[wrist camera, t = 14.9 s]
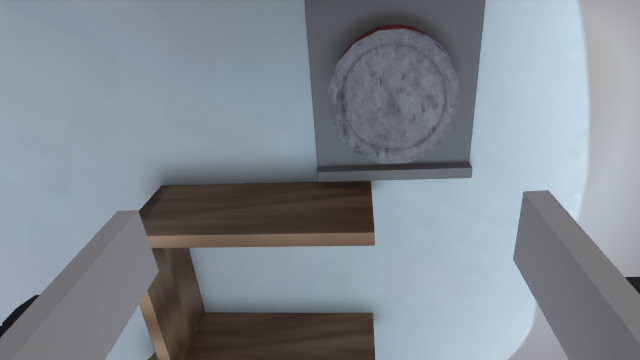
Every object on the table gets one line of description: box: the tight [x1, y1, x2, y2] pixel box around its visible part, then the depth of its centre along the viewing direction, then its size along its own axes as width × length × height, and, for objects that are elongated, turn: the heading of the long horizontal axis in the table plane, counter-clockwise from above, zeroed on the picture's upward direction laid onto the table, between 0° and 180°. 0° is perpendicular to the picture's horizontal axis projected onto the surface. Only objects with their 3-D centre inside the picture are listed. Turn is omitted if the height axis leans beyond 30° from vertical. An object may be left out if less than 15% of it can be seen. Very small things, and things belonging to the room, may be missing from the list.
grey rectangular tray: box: [305, 0, 485, 182], centre depth 35 cm, size 17×14×2 cm
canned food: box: [328, 24, 459, 164], centre depth 33 cm, size 11×10×10 cm
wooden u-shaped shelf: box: [139, 181, 375, 360], centre depth 41 cm, size 18×21×9 cm
